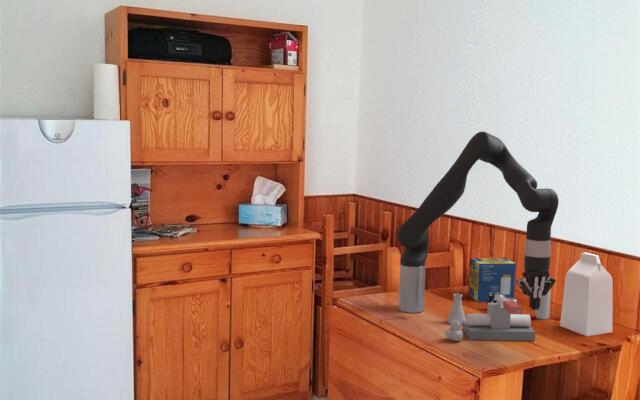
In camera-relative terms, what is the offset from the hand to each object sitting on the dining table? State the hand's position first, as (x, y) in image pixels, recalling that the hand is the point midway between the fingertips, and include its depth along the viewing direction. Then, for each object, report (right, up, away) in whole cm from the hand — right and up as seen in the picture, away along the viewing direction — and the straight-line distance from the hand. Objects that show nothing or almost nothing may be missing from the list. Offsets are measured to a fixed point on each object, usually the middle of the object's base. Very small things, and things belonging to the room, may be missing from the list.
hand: (534, 309), depth 201 cm
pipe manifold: (-7, -11, +15) cm, 20 cm away
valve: (+1, -9, +39) cm, 40 cm away
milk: (+25, -11, +22) cm, 35 cm away
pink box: (-7, 0, +6) cm, 9 cm away
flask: (-18, -10, +28) cm, 34 cm away
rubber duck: (-23, -12, +9) cm, 27 cm away
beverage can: (+14, -9, +34) cm, 38 cm away
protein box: (+2, -6, +60) cm, 61 cm away
